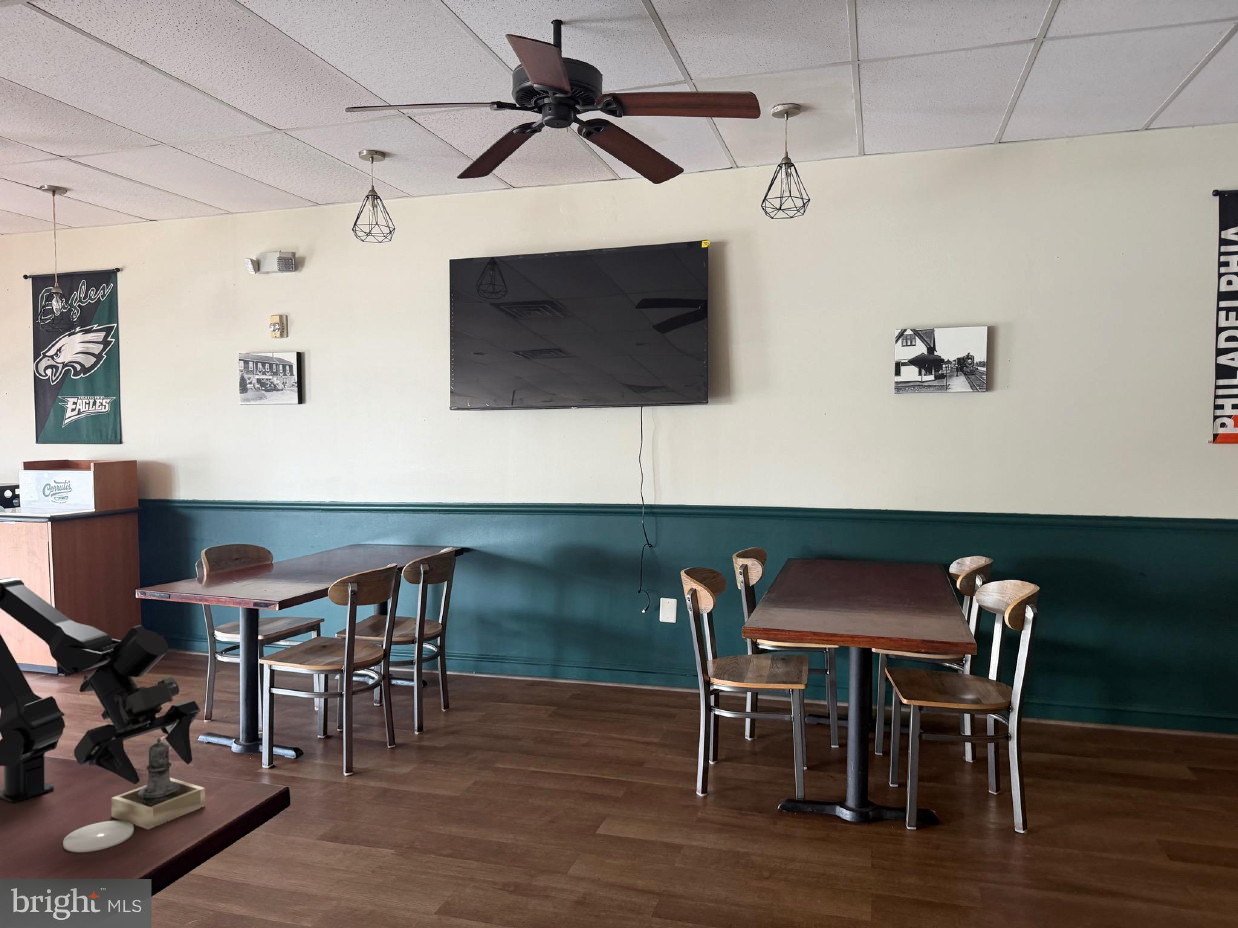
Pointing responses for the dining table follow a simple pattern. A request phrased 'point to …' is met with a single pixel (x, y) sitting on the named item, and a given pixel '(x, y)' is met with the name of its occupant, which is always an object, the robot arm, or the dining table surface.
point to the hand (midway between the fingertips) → (164, 771)
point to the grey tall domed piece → (158, 777)
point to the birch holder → (157, 806)
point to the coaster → (98, 836)
